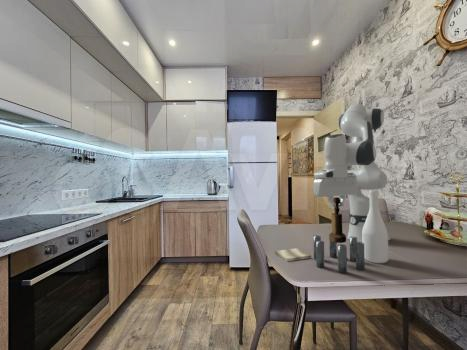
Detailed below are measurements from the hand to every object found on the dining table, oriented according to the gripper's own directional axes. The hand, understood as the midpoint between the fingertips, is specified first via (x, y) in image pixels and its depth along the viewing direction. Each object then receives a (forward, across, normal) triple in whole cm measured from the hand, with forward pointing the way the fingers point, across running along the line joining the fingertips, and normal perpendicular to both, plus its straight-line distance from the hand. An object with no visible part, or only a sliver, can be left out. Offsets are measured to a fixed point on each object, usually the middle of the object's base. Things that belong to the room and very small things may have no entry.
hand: (336, 206), depth 98 cm
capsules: (+24, 0, 0) cm, 24 cm away
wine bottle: (+24, -18, +2) cm, 30 cm away
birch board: (+24, +12, -15) cm, 30 cm away
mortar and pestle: (+14, 0, 0) cm, 14 cm away
